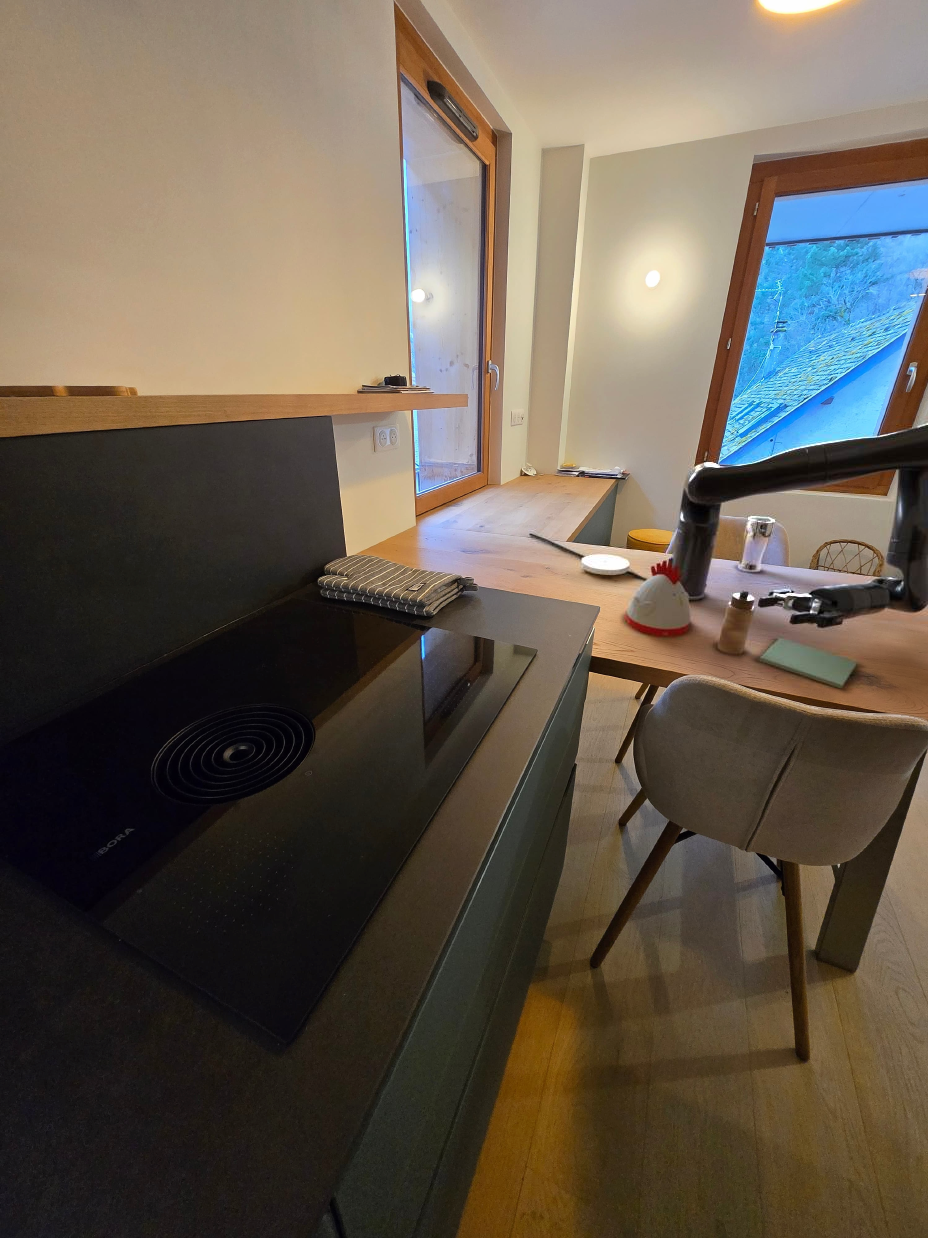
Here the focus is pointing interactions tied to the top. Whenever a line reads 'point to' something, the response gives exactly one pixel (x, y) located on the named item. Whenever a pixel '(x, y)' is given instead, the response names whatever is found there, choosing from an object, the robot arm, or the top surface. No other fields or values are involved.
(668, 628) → the kitchen timer
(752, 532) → the beer glass
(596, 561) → the plastic lid
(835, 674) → the rubber mat
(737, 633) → the pepper mill
